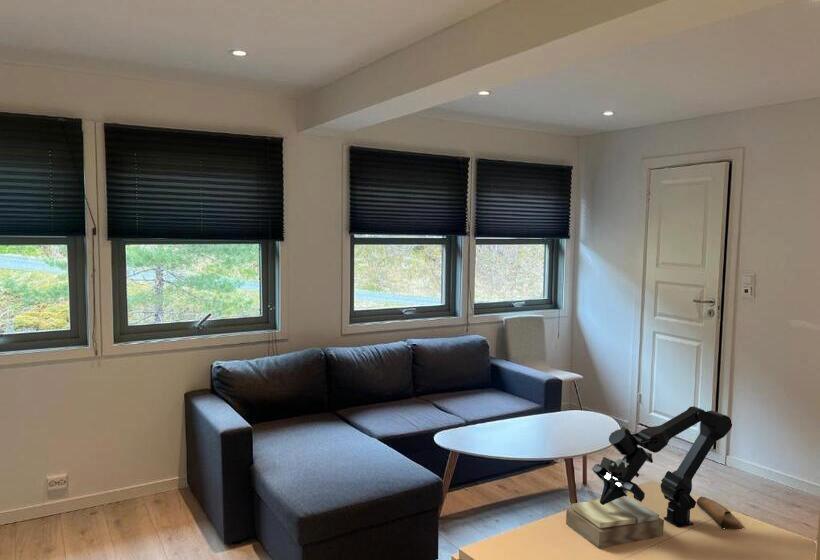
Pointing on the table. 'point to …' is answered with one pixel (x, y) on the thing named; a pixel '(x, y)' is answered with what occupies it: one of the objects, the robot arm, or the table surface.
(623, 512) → the pale yellow square slab
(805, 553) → the table surface
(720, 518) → the sunglasses case
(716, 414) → the robot arm
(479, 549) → the table surface
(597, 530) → the floor base
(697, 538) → the table surface
